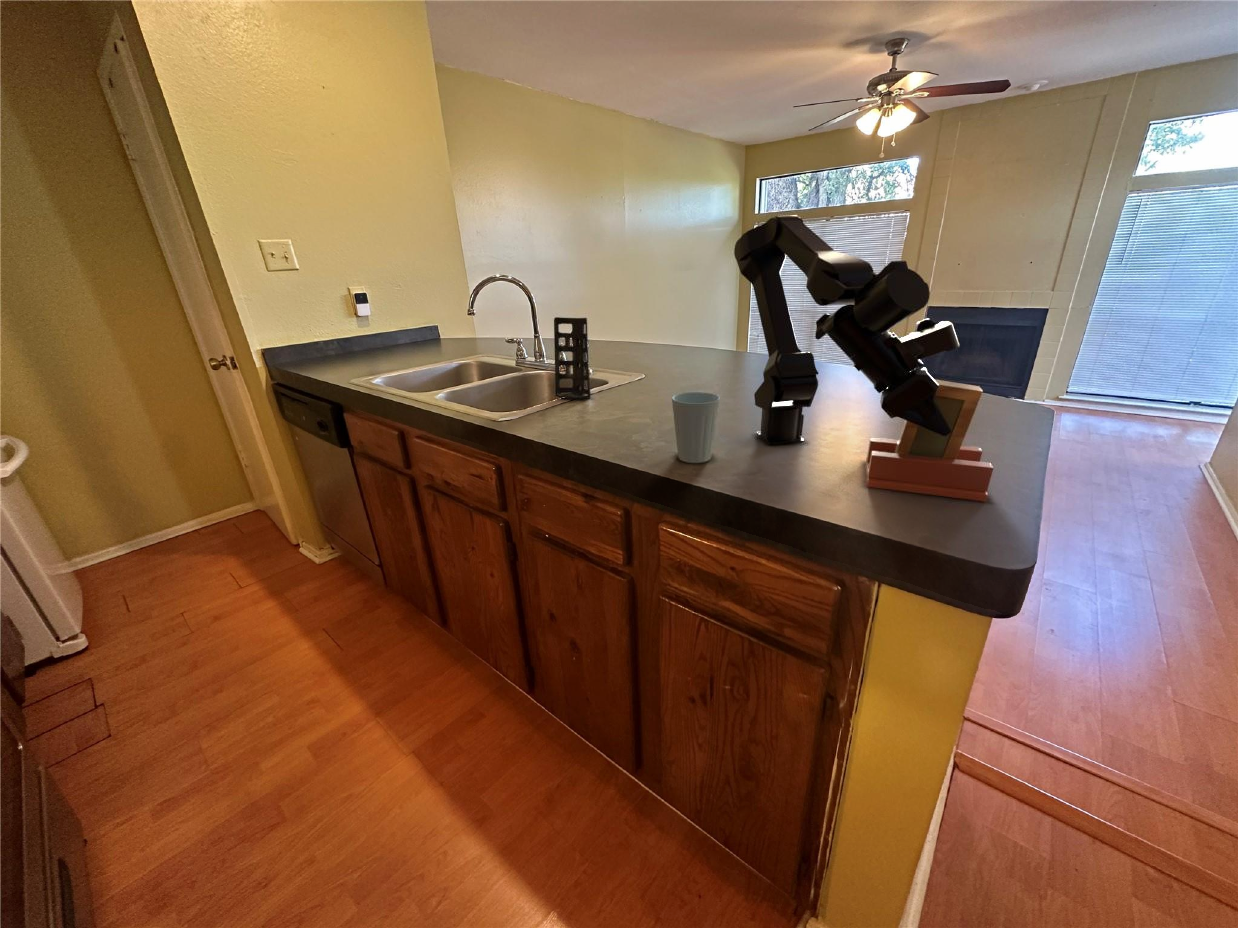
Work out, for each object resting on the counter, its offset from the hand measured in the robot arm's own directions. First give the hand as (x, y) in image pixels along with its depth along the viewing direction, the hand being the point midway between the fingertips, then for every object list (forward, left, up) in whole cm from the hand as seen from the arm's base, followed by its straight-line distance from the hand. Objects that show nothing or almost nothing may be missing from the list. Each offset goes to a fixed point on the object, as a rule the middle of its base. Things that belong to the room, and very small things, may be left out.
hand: (944, 427), depth 66 cm
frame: (-2, +1, -7) cm, 7 cm away
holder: (-47, +68, -8) cm, 83 cm away
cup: (-30, +17, -8) cm, 36 cm away
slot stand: (-1, +1, -8) cm, 8 cm away
